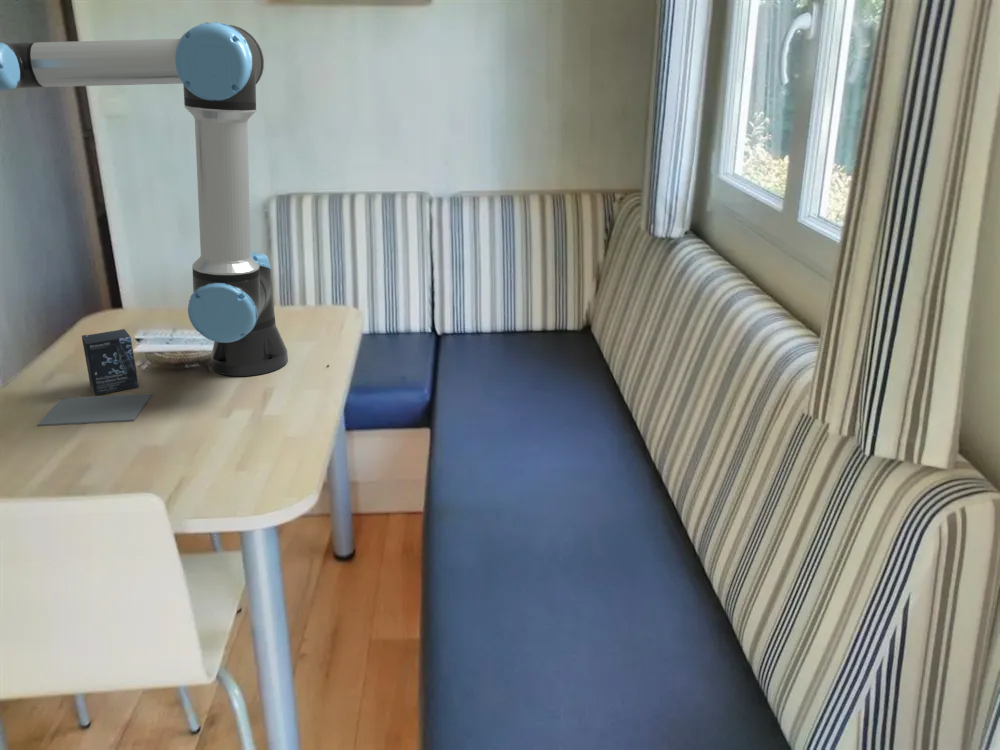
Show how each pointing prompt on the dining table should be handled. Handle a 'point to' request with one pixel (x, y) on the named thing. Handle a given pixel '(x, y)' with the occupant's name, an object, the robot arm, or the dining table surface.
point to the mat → (95, 409)
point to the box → (110, 361)
